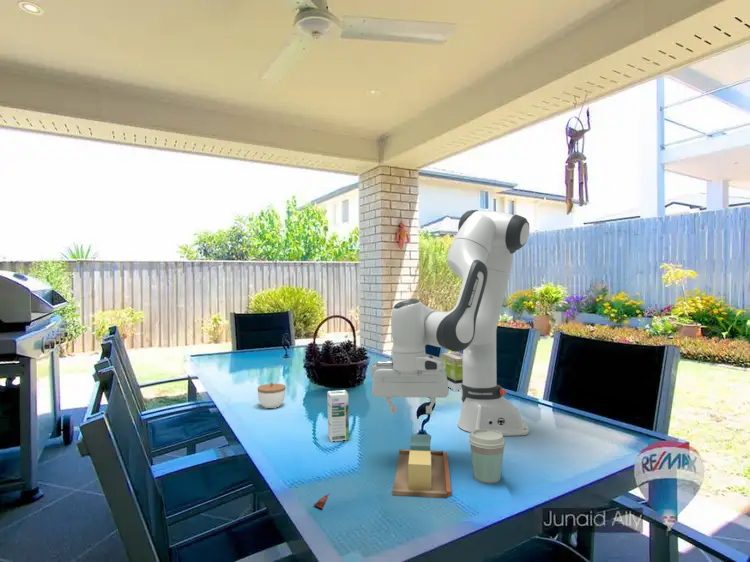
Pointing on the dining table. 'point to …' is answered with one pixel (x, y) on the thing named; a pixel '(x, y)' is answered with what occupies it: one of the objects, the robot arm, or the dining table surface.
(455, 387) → the tea box
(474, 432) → the coffee cup
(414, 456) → the ochre box
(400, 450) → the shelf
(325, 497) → the snack package
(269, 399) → the lidded jar
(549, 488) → the dining table surface
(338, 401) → the syrup box
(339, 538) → the dining table surface
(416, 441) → the teal box
